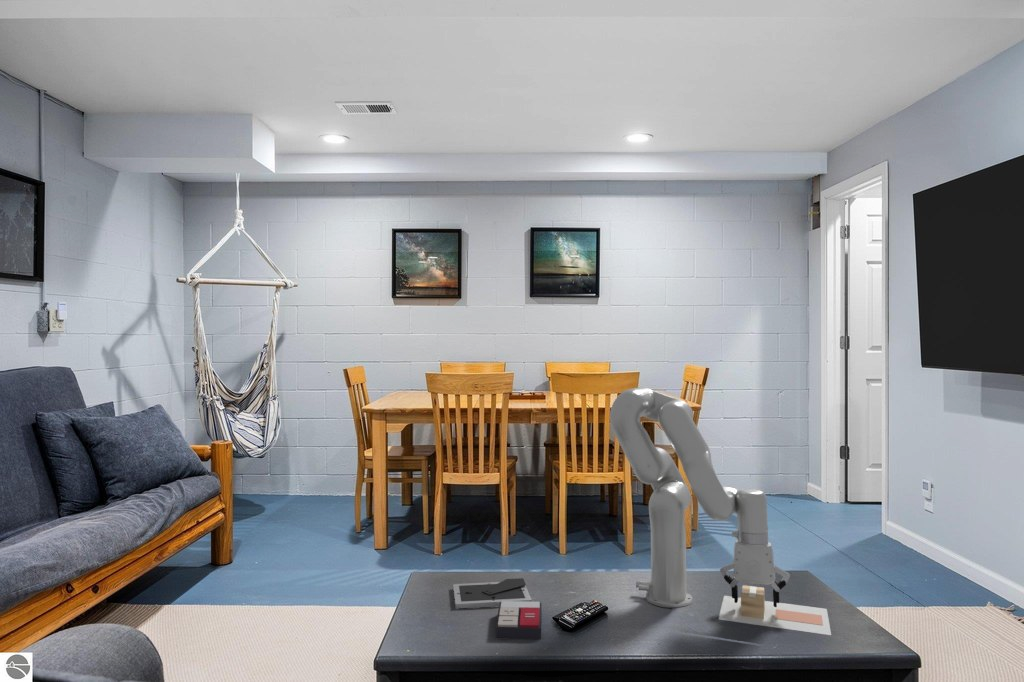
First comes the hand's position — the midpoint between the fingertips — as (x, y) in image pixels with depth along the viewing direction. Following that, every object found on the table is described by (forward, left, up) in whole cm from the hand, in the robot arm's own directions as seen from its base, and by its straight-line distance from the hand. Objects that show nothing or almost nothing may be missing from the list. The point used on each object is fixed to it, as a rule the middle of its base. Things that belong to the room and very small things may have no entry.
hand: (755, 603), depth 172 cm
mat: (+4, 0, -3) cm, 5 cm away
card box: (-1, 0, -2) cm, 2 cm away
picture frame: (-70, -15, -4) cm, 71 cm away
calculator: (-55, -31, -3) cm, 63 cm away
